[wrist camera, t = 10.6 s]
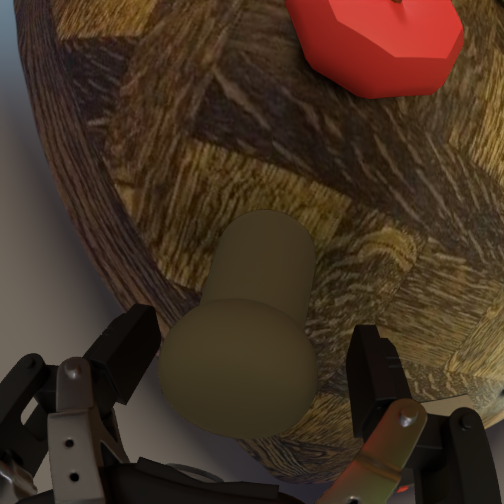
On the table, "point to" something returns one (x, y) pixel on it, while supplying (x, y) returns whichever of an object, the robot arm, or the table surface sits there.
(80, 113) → the table surface
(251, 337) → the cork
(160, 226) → the table surface
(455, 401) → the panel
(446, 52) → the apple
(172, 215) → the table surface
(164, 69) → the table surface
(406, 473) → the red tipped black brick
